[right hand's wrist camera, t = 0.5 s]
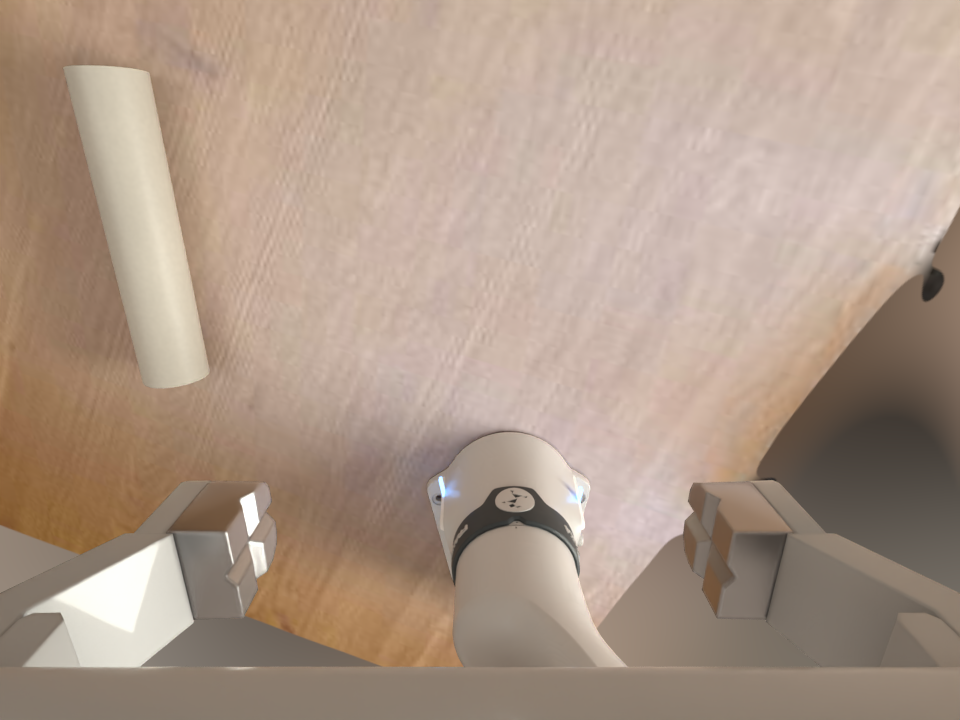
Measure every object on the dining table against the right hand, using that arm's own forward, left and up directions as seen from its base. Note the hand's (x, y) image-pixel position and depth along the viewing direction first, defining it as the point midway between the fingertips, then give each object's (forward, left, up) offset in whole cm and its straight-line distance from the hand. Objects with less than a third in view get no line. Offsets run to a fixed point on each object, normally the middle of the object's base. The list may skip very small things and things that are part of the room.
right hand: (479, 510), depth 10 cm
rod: (-1, +31, -45) cm, 54 cm away
